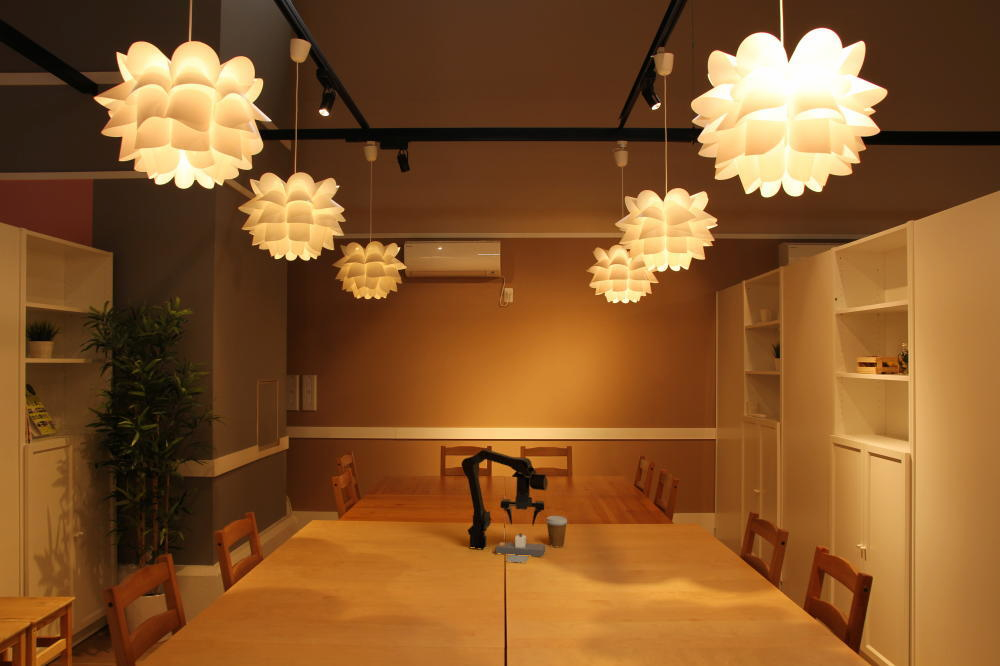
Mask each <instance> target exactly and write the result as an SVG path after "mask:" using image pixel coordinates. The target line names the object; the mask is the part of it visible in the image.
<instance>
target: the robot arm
mask: <svg viewBox="0 0 1000 666" xmlns="http://www.w3.org/2000/svg"><path fill="white" fill-rule="evenodd" d="M485 460H488V461H491V462H494V463H496V464H500V465H503V466H507V467H509V468H511V469H512V470H513V471H515V472H514V473H513V474H512V475H511V477H512V478H516V489H515V490H516V491H515V492H516V493H515V494H516V495H515V501H512V500H511V498H502V499H501V501H500V505H499V506H500V509H503V511H505V512H506V513H507V516H508V518H509V523H510V525H513V514H512V512H513V511H512V507H515V509H516V510H527V509H528V508H534V509H533V517H532V526H534V524H535V521H536V518H537V516H538V514H539V513H541V512H542V511H545V506H546V505H545V500H544V501H543V500H535V502H533V497H531V496H530V491H531V490H530V489H532V490H537V491H538V490H539V491H546V490H547V489H548V484H549V481H548V477H547V474H546V473H537V471H536V469H535V468H534V467H533V464H532V461H531V459H529V458H528V457H519V456H517V457H515V456H511V455H506V454H504V453H500V452H496V451H494V450H490V449H488V448H484V449H482V450H480V451H479V452H477V453H476V454H474V455H472V456H469V457H465V458H464V459H463V460H462V461H461V468H462V471H463V473H464V474H465V476H466V478H467V481H468V486H469V492H470V496H471V503H472V507H473V514H472V524H471V526H470V527H469V528H468V529H467V533H468V535H469V547H475V548H484V547H485V548H486V546H487V536H486V532H487V529H488V528H489V527H490V526H491V522H492V518H491V511H489V510H488V511H487V510H486V508H485V504H484V500H483V496H482V495H483V493H482V489H481V484H480V479H479V475H480V474H479V473H480V464H481V463H482V462H485ZM485 548H484V549H485Z"/></svg>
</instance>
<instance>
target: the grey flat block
mask: <svg viewBox="0 0 1000 666" xmlns="http://www.w3.org/2000/svg"><path fill="white" fill-rule="evenodd" d="M544 552H545V553H546V544H540V543H539V544H538V543H526V548H518V547H515V542H505V541H499V542H498V543H497V545H496V547H495V554H496V553H501V554H515V555H531V556H543V555H544V556H545V553H544ZM544 556H543V557H544Z"/></svg>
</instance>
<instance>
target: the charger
mask: <svg viewBox="0 0 1000 666" xmlns="http://www.w3.org/2000/svg"><path fill="white" fill-rule="evenodd" d="M514 538H515V539H514V540H515V541H514V543H515V547H518V548H526V544H527V535H524V534H523V533H518V534H516V535H515V537H514Z"/></svg>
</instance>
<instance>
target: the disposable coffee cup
mask: <svg viewBox="0 0 1000 666" xmlns="http://www.w3.org/2000/svg"><path fill="white" fill-rule="evenodd" d="M545 522H546V524H547V525H546V526H547V532H548V533H547V535H548V541H549V543H548V544H549V546H550V545H552V546H563V545H564V546H565V538H566V530H567V523H568V520H567V518H566V517H565V516H562V515H551V516H548V517H547V518H546V520H545ZM552 546H551V547H552ZM564 546H563V547H564Z"/></svg>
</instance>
